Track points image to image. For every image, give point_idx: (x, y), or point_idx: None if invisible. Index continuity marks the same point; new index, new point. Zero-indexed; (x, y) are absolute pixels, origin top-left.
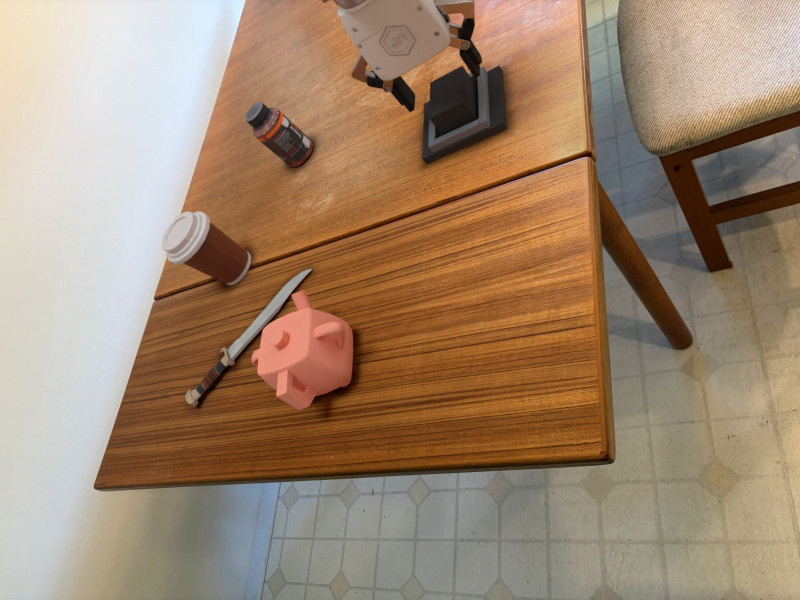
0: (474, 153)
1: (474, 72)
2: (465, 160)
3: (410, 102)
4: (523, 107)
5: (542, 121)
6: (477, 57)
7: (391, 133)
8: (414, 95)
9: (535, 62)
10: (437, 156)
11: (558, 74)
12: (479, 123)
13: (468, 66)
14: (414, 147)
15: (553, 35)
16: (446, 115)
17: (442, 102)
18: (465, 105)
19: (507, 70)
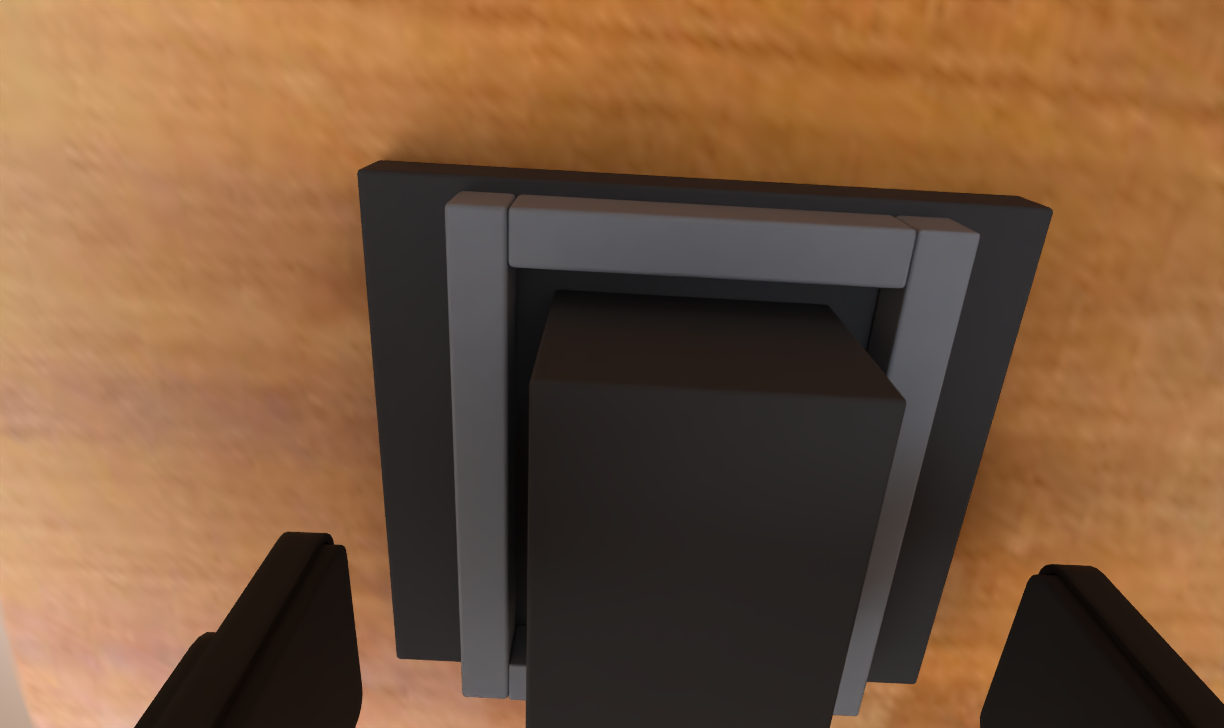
0: (637, 75)
1: (284, 568)
2: (715, 46)
3: (1067, 645)
4: (270, 282)
5: (119, 71)
6: (160, 693)
7: (1179, 617)
8: (989, 718)
9: (217, 567)
10: (922, 195)
11: (60, 402)
12: (503, 212)
13: (257, 641)
14: (1064, 413)
15: (129, 671)
16: (736, 368)
17: (740, 507)
18: (537, 364)
19: (385, 613)
